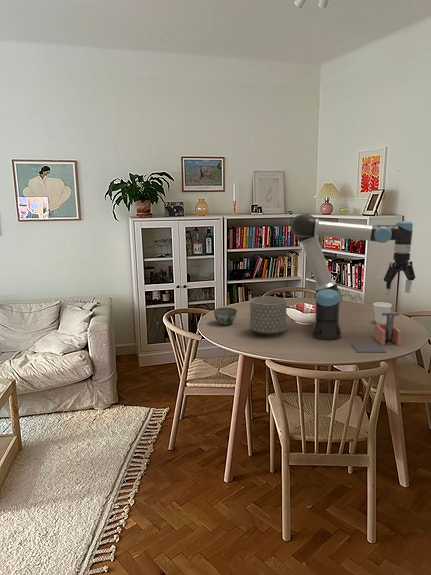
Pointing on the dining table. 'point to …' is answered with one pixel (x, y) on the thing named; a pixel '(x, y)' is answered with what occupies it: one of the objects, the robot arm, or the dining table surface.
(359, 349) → the mat
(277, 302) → the planter
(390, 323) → the stand
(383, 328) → the c link
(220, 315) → the bowl
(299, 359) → the dining table surface
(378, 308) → the cup
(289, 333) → the dining table surface
